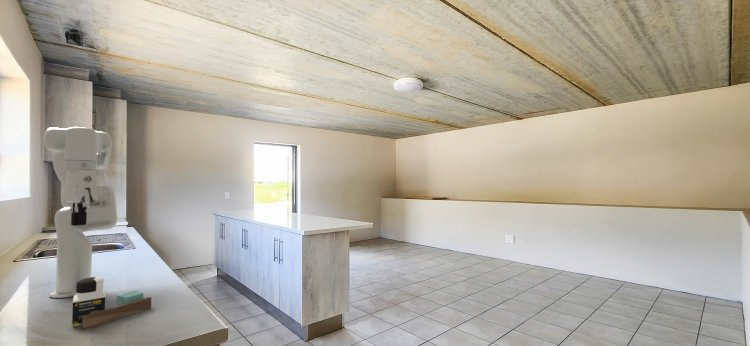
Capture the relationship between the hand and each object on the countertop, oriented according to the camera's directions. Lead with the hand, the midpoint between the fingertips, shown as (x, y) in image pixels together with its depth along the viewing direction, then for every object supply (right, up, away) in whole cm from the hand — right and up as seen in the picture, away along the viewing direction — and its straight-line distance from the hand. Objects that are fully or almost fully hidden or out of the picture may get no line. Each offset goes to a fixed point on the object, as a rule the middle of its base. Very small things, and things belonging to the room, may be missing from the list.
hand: (78, 224), depth 101 cm
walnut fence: (+17, -27, -5) cm, 32 cm away
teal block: (+15, -27, +1) cm, 31 cm away
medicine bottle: (+9, -27, -6) cm, 29 cm away
